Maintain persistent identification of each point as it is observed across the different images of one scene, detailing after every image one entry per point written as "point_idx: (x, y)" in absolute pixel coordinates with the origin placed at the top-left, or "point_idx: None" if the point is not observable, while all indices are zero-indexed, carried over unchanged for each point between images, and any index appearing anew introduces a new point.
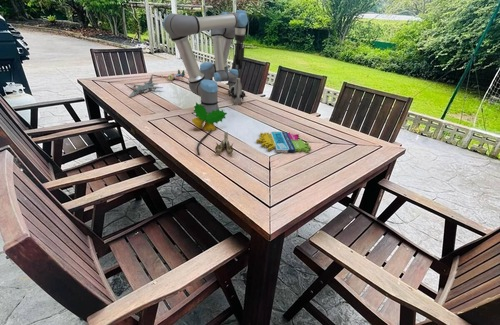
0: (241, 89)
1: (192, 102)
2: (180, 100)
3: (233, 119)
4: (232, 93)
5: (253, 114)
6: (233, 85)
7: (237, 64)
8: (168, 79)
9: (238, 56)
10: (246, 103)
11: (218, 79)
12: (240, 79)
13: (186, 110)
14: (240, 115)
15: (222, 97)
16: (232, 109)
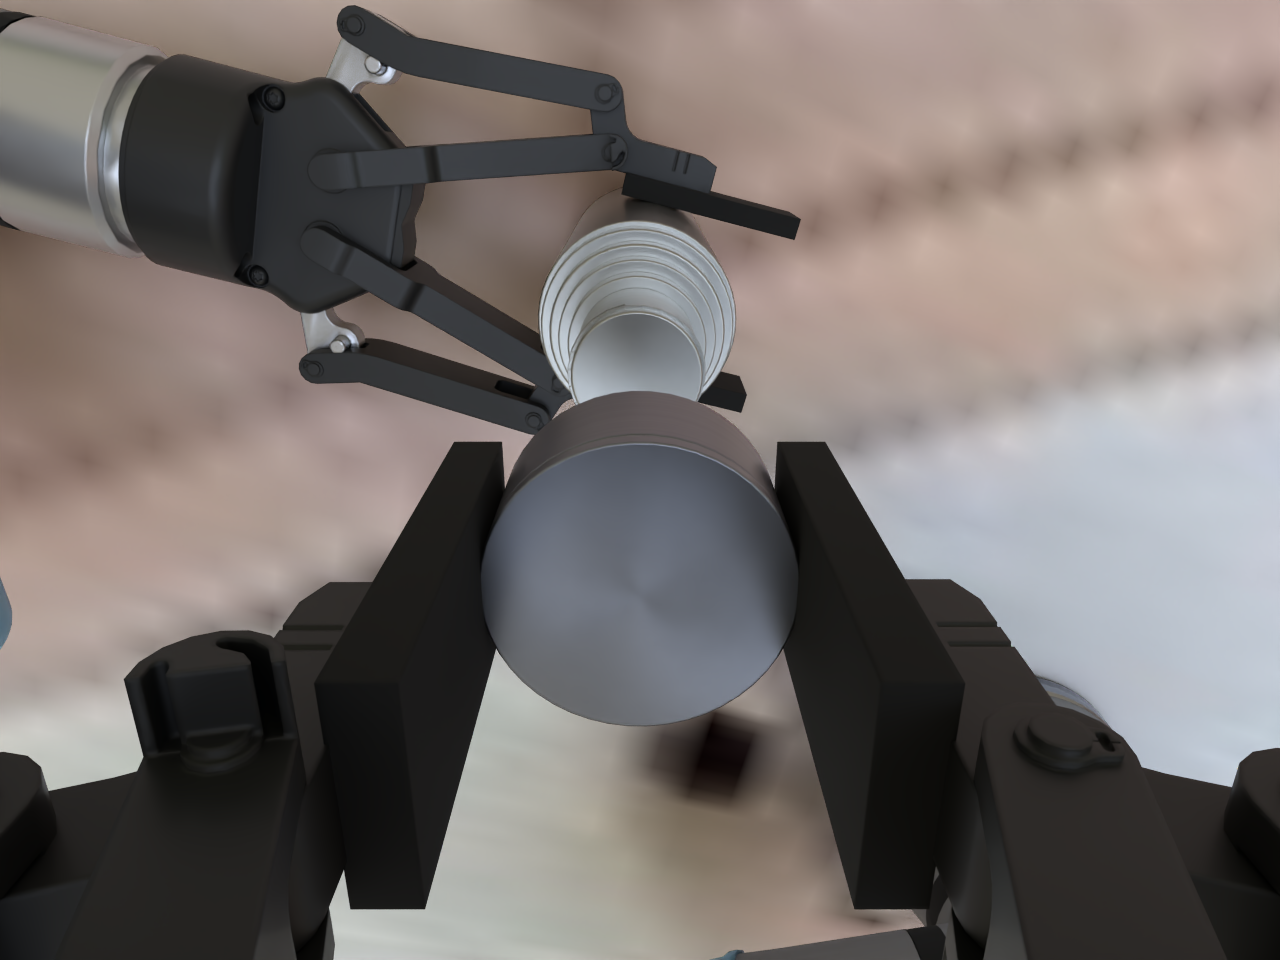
0: (708, 247)
1: (443, 842)
2: (336, 940)
3: (1277, 580)
4: (539, 368)
5: (1251, 217)
6: (37, 179)
7: (487, 608)
8: None
9: (228, 878)
10: (651, 64)
11: (2, 609)
12: (667, 313)
13: (746, 951)
14: (1189, 436)
15: (207, 379)
16: (895, 449)
